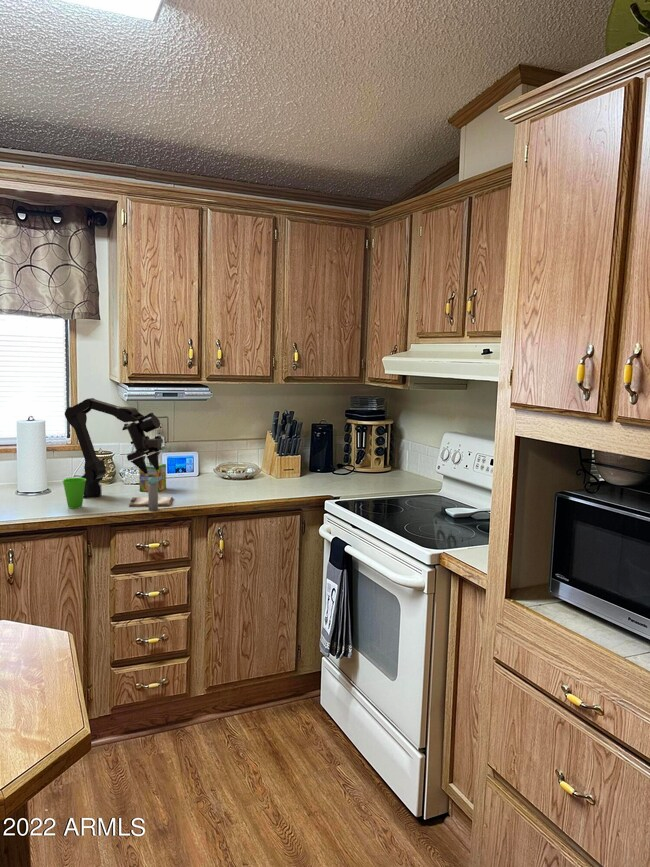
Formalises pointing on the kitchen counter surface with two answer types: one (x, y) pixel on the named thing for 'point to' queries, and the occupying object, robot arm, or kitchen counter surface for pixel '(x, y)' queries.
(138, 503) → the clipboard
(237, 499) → the kitchen counter surface
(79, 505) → the cup
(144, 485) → the chalk box
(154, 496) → the marker
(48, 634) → the kitchen counter surface
